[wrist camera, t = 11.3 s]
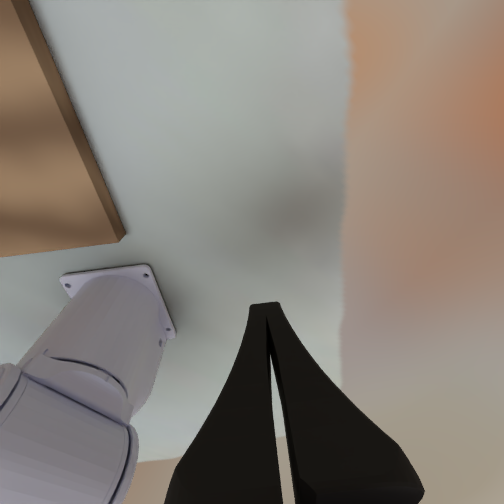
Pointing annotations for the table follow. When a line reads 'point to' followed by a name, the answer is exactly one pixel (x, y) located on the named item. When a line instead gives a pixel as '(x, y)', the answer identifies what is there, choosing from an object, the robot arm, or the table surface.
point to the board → (44, 151)
